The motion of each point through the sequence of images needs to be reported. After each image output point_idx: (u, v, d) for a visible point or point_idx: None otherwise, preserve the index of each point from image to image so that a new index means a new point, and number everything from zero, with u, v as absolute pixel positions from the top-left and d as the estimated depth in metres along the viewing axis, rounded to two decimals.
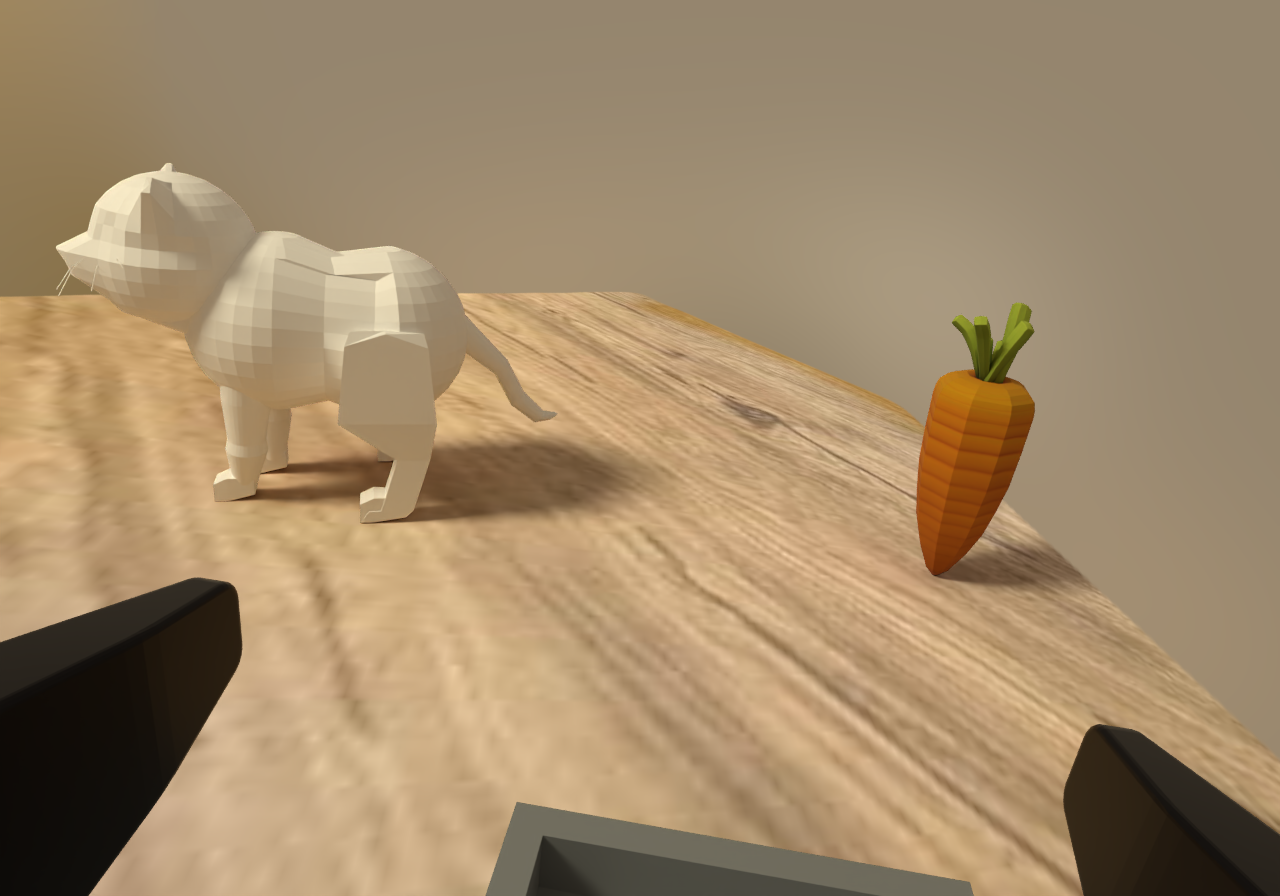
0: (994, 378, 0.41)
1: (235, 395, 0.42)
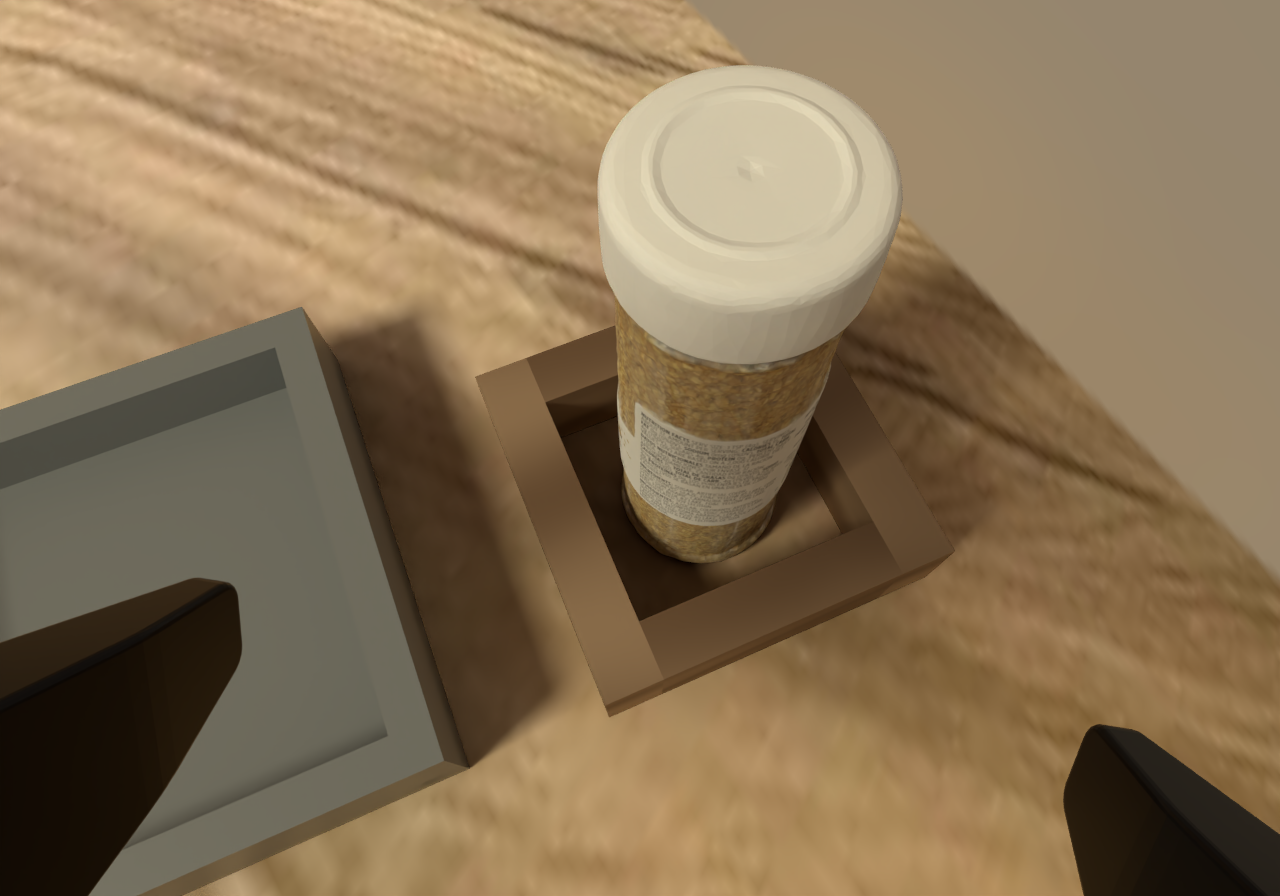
0: None
1: None
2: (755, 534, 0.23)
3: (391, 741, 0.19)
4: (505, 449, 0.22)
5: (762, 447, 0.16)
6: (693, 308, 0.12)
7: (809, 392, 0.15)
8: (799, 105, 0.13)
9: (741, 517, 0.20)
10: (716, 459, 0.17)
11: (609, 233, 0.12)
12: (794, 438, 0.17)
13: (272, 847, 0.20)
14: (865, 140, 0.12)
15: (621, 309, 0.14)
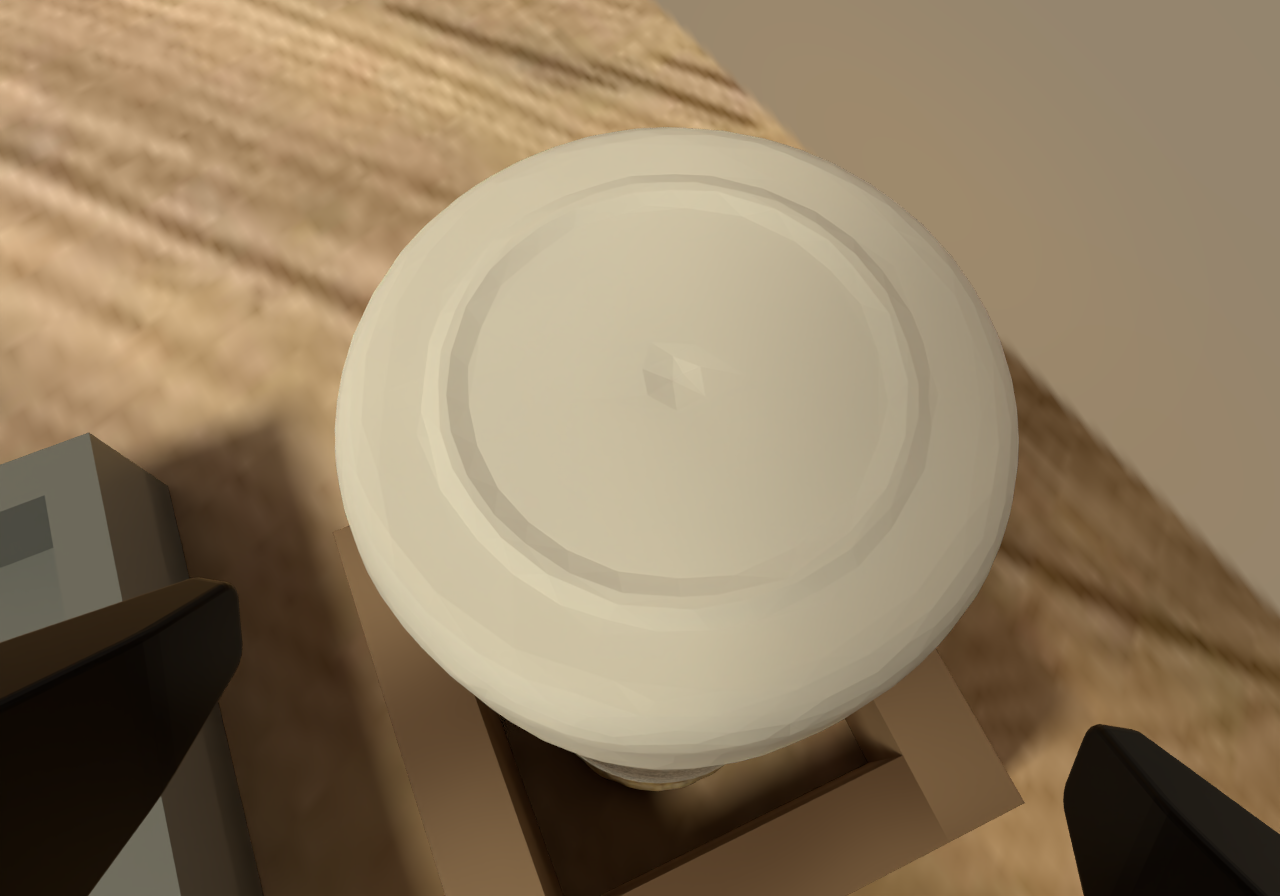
0: None
1: None
2: None
3: None
4: (369, 645, 0.15)
5: None
6: (535, 728, 0.05)
7: None
8: (784, 220, 0.06)
9: (707, 773, 0.13)
10: (653, 773, 0.10)
11: None
12: None
13: None
14: (933, 302, 0.06)
15: None
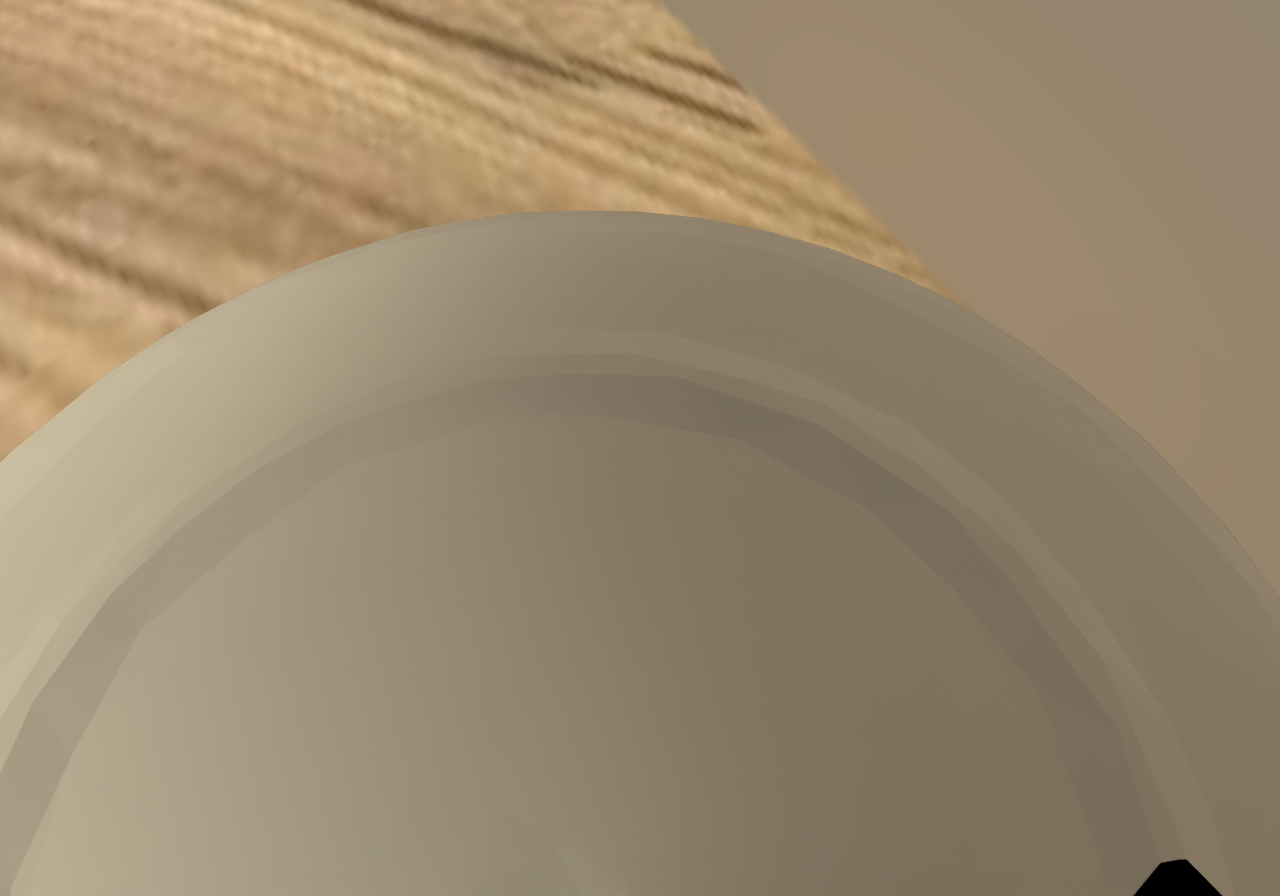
0: None
1: None
2: None
3: None
4: None
5: None
6: None
7: None
8: (838, 449, 0.02)
9: None
10: None
11: None
12: None
13: None
14: (1217, 685, 0.02)
15: None
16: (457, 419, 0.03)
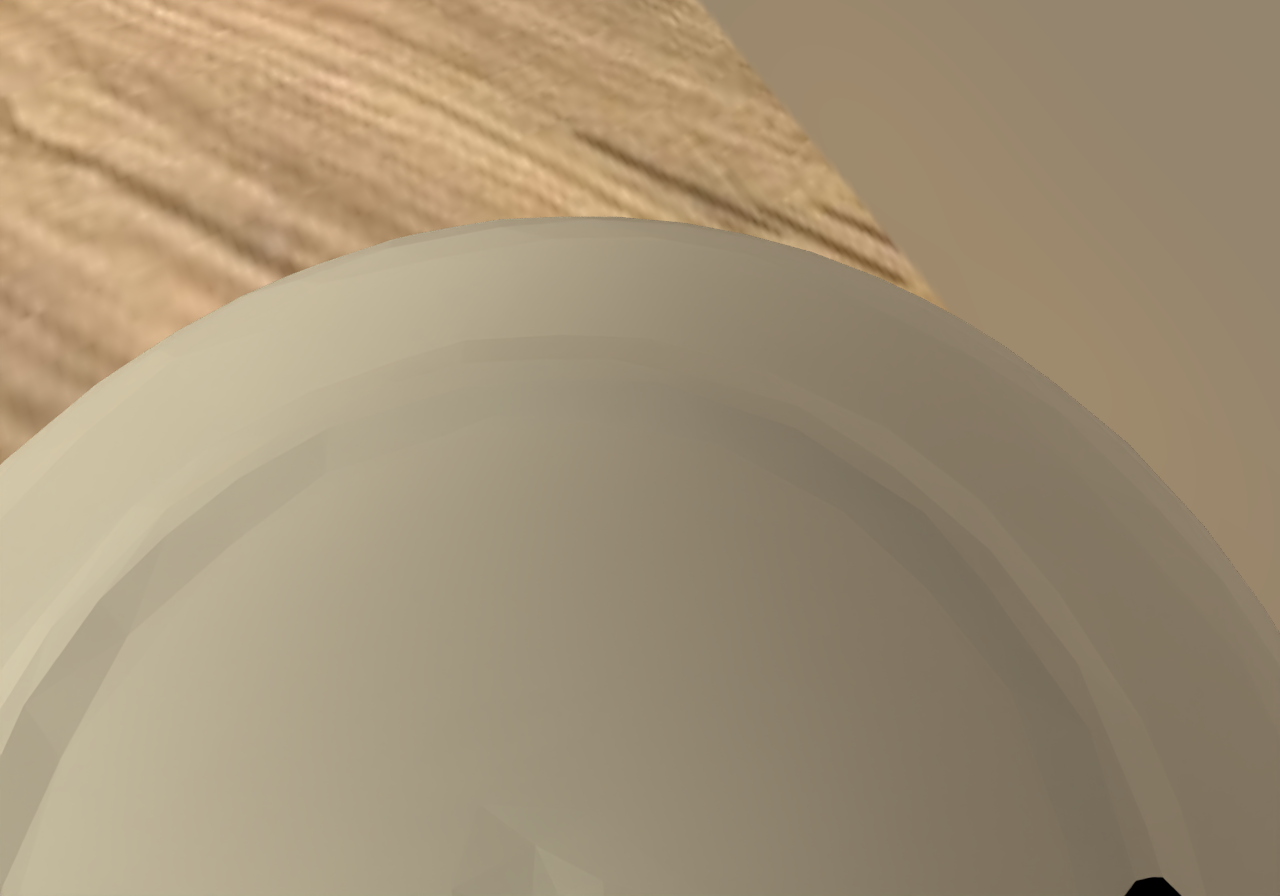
0: None
1: None
2: None
3: None
4: None
5: None
6: None
7: None
8: (814, 452, 0.02)
9: None
10: None
11: None
12: None
13: None
14: (1189, 682, 0.02)
15: None
16: (438, 426, 0.03)
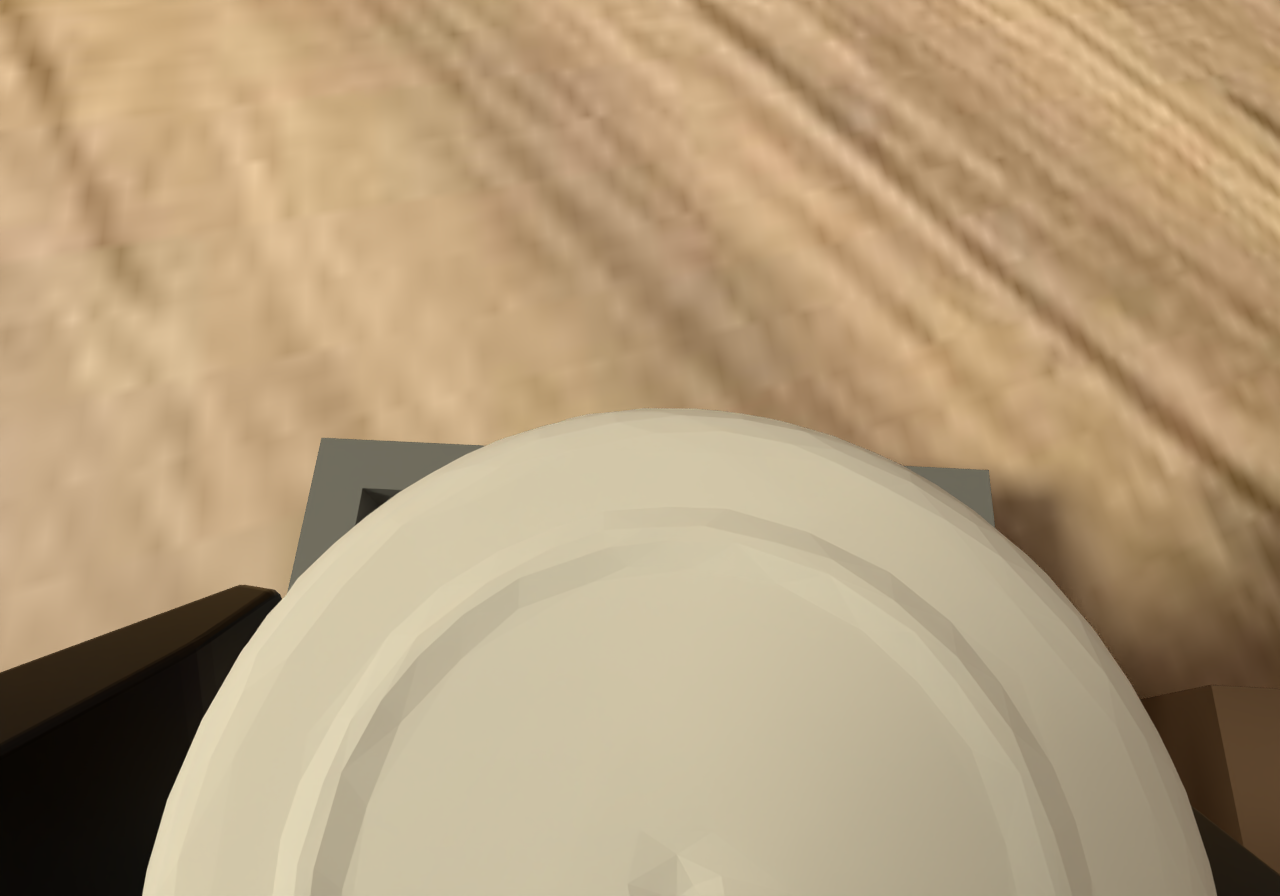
0: None
1: None
2: None
3: None
4: (1244, 832, 0.14)
5: None
6: None
7: None
8: (842, 590, 0.04)
9: None
10: None
11: None
12: None
13: None
14: (1083, 743, 0.04)
15: None
16: (591, 574, 0.04)
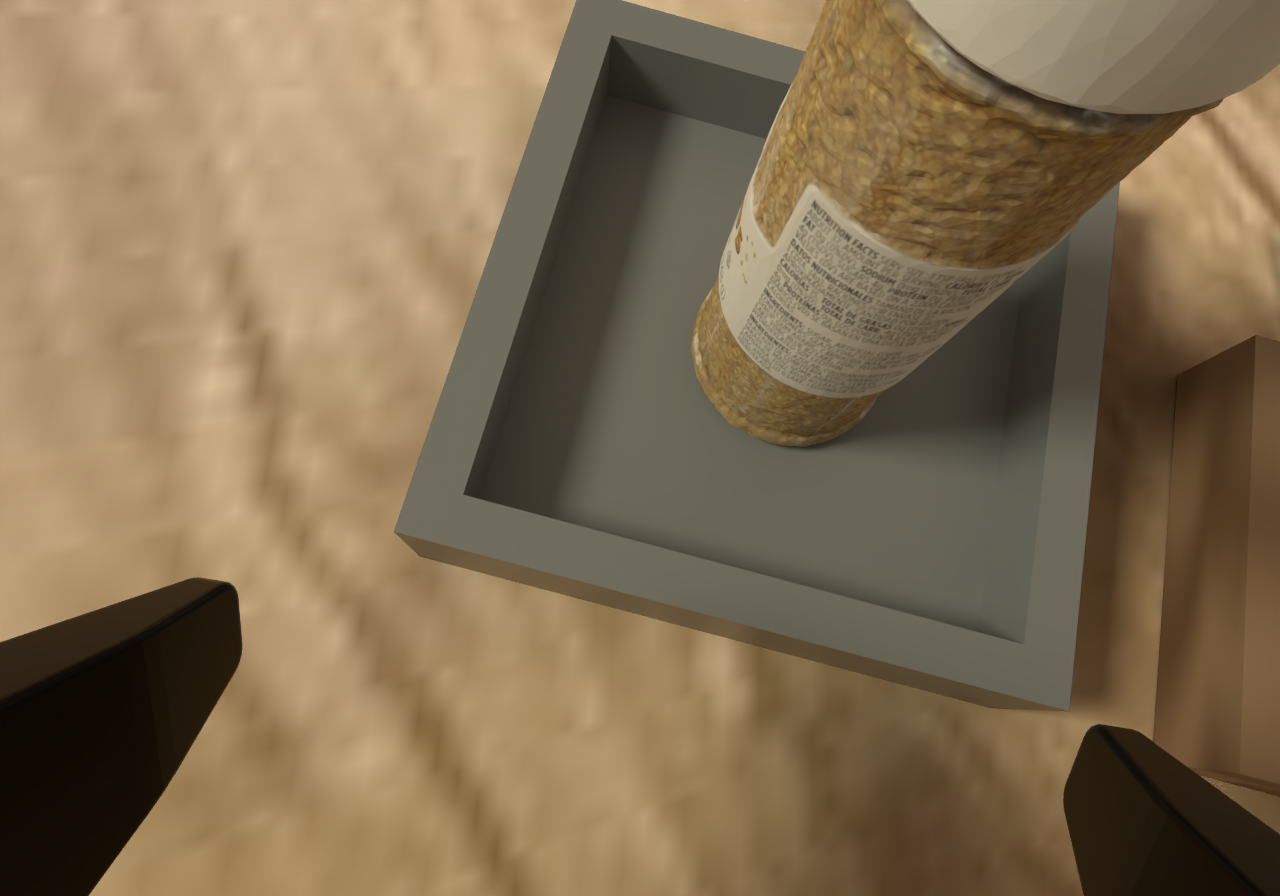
0: None
1: None
2: (853, 421, 0.18)
3: (1025, 652, 0.16)
4: (1254, 434, 0.18)
5: (974, 287, 0.11)
6: None
7: (1086, 209, 0.10)
8: None
9: (866, 392, 0.15)
10: (900, 294, 0.11)
11: None
12: (1008, 286, 0.12)
13: (811, 653, 0.17)
14: None
15: (859, 1, 0.09)
16: None
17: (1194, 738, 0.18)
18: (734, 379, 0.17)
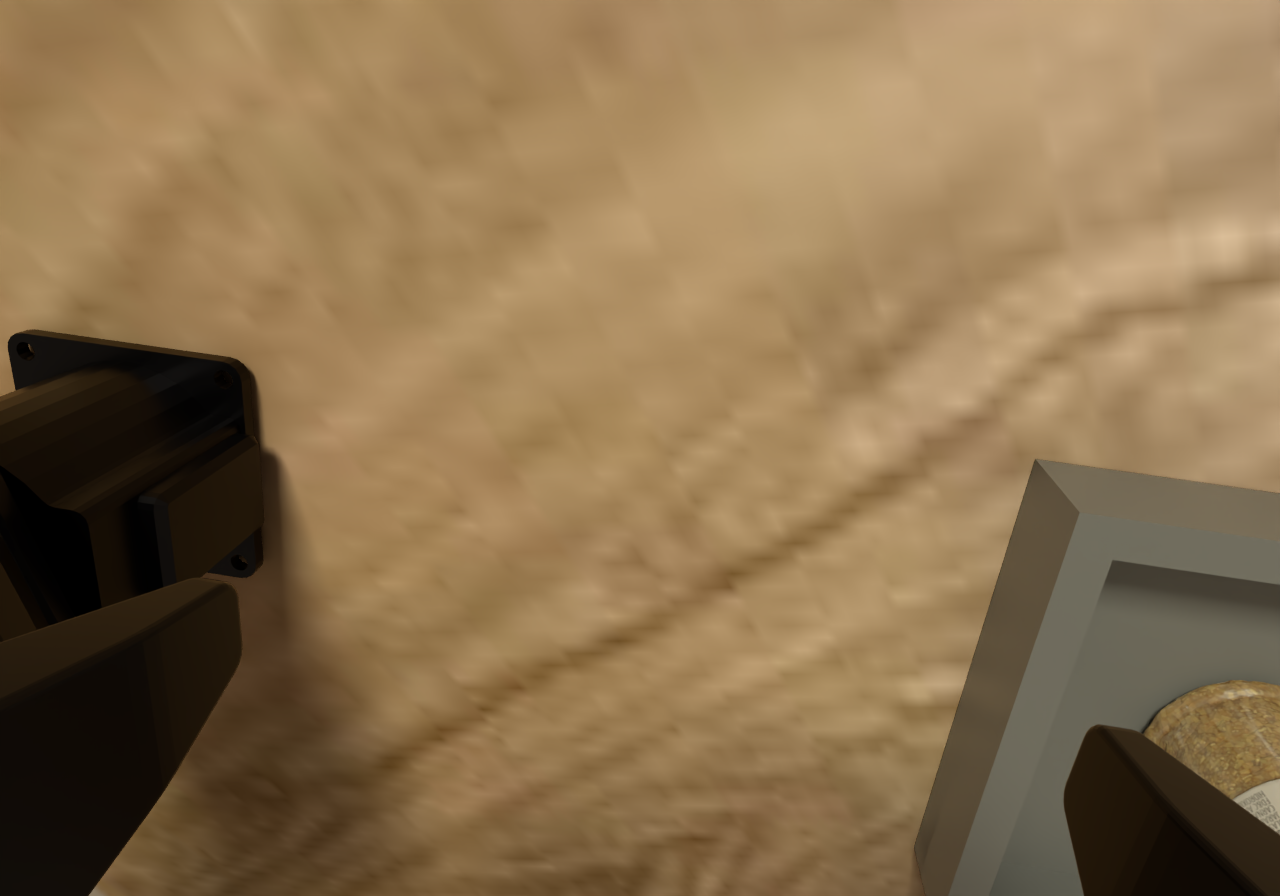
0: None
1: None
2: None
3: None
4: None
5: None
6: None
7: None
8: None
9: None
10: None
11: None
12: None
13: (962, 765, 0.23)
14: None
15: None
16: None
17: None
18: (1212, 749, 0.20)
